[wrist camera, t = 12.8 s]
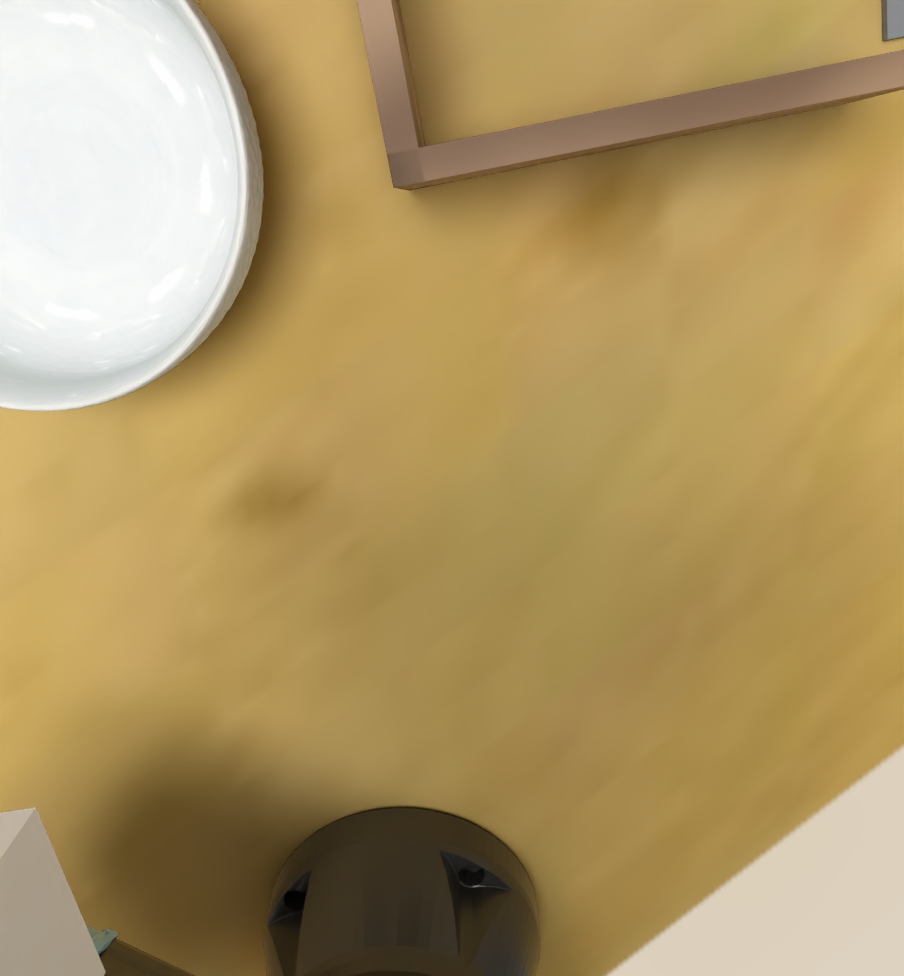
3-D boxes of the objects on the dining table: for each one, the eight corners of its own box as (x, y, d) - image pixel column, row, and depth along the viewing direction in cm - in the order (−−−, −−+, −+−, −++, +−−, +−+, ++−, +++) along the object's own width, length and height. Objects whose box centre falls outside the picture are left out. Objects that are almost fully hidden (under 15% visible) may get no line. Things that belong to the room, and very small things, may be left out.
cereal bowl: (-53, -148, 31) (-191, -241, 25) (354, 71, 34) (329, 40, 27) (-157, 272, 36) (-295, 289, 30) (203, 437, 39) (150, 487, 32)
